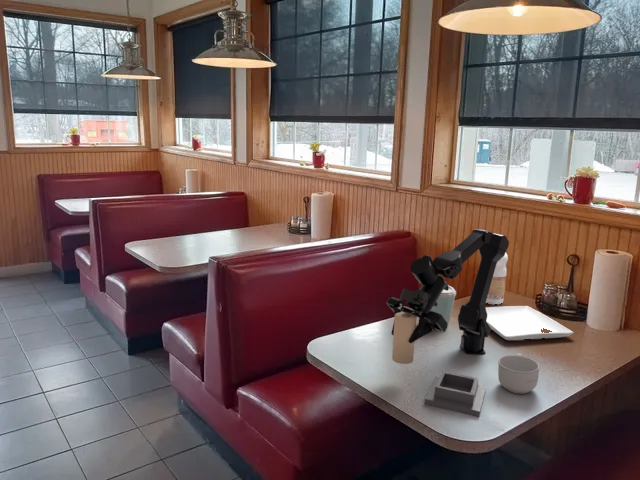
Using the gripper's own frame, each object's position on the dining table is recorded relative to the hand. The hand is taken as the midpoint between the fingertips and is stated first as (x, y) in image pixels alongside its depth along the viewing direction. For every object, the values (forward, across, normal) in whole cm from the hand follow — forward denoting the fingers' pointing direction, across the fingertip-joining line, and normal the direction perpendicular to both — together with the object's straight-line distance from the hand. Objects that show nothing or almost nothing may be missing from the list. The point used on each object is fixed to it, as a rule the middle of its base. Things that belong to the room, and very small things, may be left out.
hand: (400, 338), depth 146 cm
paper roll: (+4, 0, +6) cm, 7 cm away
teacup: (-9, +22, +28) cm, 37 cm away
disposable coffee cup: (-22, -20, +41) cm, 51 cm away
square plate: (-37, -2, +57) cm, 68 cm away
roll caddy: (+5, +15, +14) cm, 21 cm away
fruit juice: (-51, -24, +70) cm, 90 cm away
